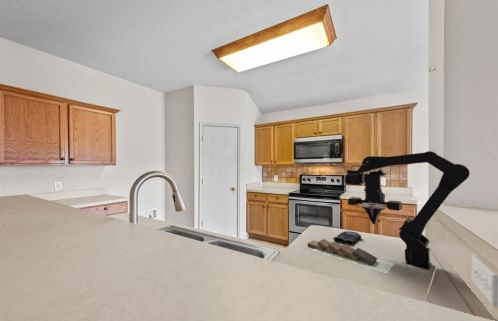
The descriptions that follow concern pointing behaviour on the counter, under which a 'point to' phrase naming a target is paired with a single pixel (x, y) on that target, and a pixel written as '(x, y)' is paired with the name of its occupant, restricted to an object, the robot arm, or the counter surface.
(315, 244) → the domino
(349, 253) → the brown wooden block
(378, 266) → the runner mat
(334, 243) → the domino
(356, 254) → the tile
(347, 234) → the electronic device
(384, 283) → the counter surface
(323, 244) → the domino
